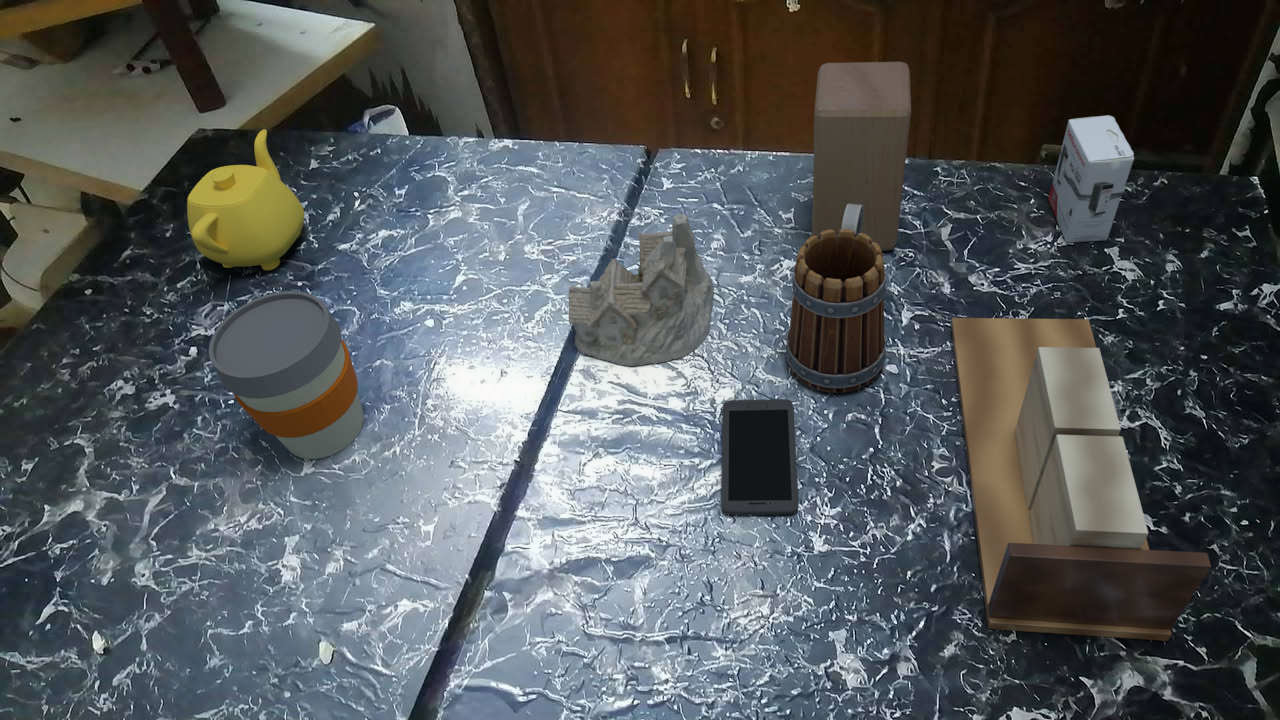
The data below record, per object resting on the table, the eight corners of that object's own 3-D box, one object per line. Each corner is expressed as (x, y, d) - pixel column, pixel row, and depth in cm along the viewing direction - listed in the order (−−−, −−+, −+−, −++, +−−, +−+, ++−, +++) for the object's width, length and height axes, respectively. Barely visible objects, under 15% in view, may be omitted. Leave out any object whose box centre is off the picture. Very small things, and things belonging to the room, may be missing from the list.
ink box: (1045, 199, 114) (1066, 116, 106) (1087, 196, 114) (1111, 112, 105) (1065, 244, 108) (1089, 160, 100) (1109, 241, 108) (1136, 157, 99)
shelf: (1086, 326, 99) (1117, 231, 90) (1167, 641, 76) (1222, 557, 66) (950, 325, 102) (966, 232, 92) (987, 629, 78) (1015, 546, 68)
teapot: (339, 201, 132) (305, 126, 123) (273, 297, 119) (230, 221, 110) (256, 197, 135) (218, 124, 126) (184, 291, 122) (135, 217, 113)
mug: (877, 404, 96) (887, 299, 85) (776, 387, 99) (774, 284, 88) (898, 301, 105) (910, 195, 94) (805, 289, 108) (807, 185, 98)
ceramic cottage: (727, 273, 112) (710, 173, 101) (696, 377, 102) (673, 279, 91) (606, 267, 116) (577, 171, 105) (565, 366, 107) (529, 272, 96)
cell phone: (793, 402, 97) (793, 397, 96) (799, 515, 88) (799, 511, 87) (722, 404, 98) (722, 399, 97) (721, 516, 89) (720, 511, 88)
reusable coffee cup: (264, 406, 106) (204, 312, 95) (371, 370, 108) (324, 274, 97) (272, 488, 98) (207, 396, 87) (388, 448, 100) (339, 353, 89)
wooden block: (895, 202, 117) (910, 57, 103) (896, 254, 111) (912, 108, 96) (815, 200, 119) (818, 59, 105) (811, 252, 113) (814, 108, 98)
